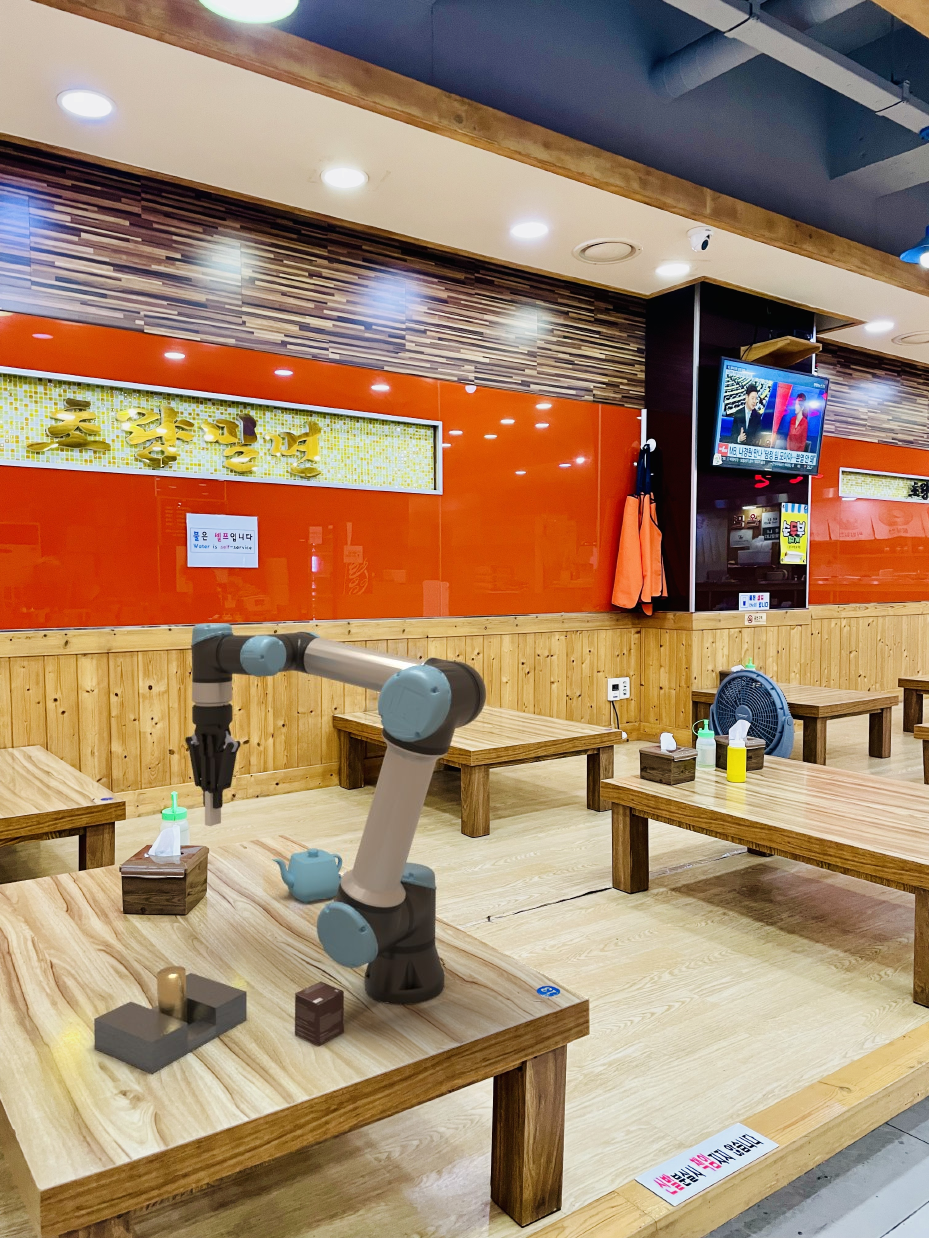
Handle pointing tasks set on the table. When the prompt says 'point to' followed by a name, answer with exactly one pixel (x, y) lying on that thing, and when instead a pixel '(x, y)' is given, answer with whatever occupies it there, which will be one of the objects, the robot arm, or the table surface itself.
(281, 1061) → the table surface
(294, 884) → the teapot
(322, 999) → the box
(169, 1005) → the gold cylinder
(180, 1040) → the jig
